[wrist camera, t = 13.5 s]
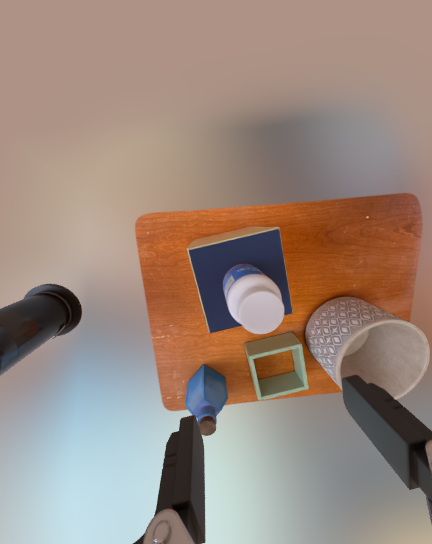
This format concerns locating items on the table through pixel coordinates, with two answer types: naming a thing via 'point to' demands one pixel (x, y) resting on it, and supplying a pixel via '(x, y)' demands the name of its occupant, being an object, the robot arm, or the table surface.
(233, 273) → the pill bottle
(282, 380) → the green hollow square box
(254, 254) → the pad
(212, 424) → the perfume bottle
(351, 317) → the planter
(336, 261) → the table surface
